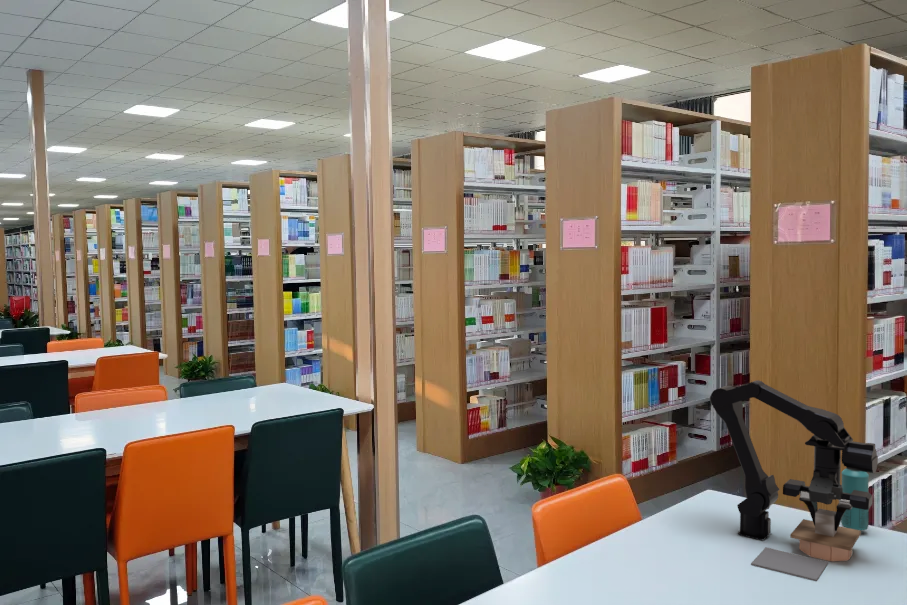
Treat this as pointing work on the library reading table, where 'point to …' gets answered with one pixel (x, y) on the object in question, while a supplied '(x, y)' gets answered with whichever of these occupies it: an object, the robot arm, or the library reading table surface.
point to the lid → (826, 531)
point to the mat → (790, 563)
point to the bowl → (824, 551)
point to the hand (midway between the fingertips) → (825, 528)
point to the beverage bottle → (850, 482)
